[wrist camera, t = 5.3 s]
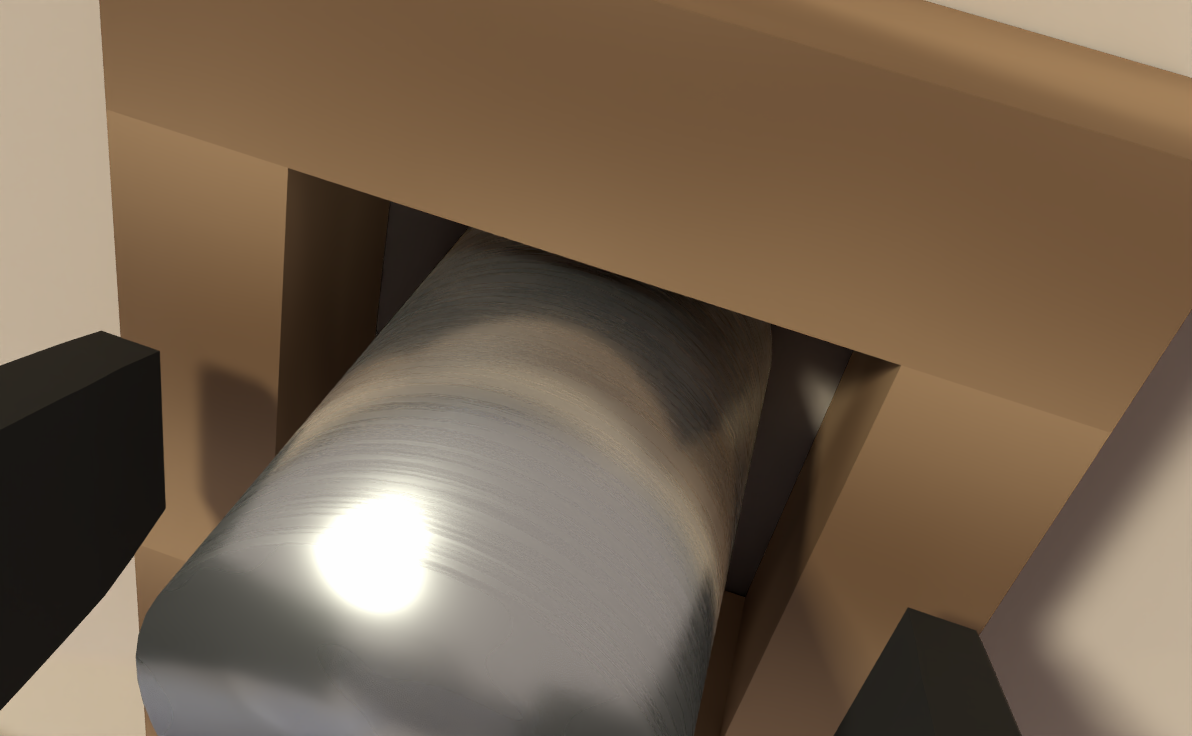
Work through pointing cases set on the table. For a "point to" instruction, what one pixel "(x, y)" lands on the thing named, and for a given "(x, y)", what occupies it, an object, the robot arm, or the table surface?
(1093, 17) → the table surface
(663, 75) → the jig
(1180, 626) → the table surface
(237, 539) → the brushed metal cylinder
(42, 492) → the robot arm
